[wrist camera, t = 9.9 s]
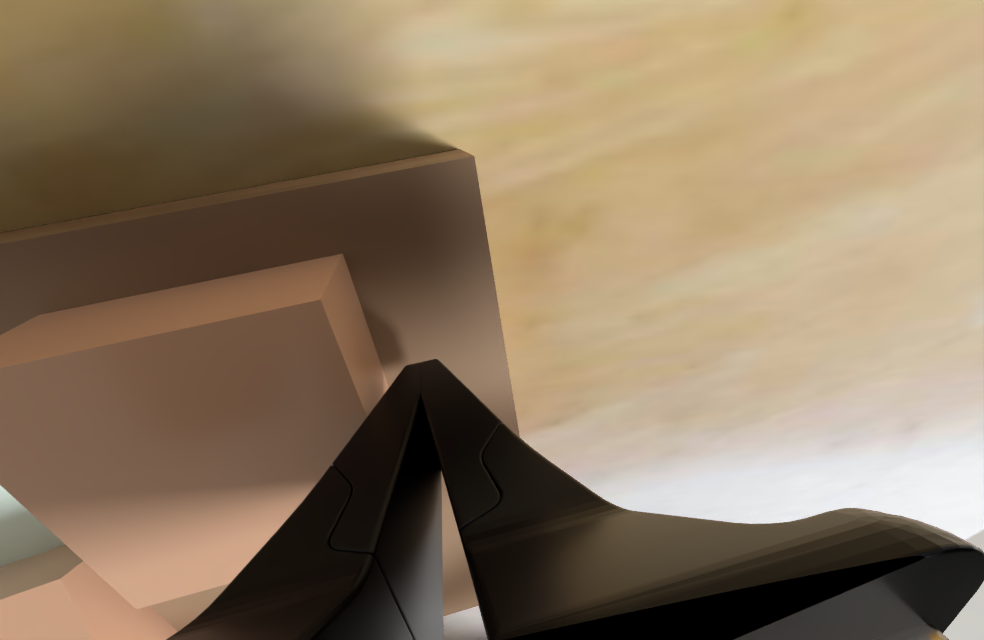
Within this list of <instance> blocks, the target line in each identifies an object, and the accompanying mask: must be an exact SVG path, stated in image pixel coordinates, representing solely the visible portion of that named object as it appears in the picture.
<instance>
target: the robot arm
mask: <svg viewBox="0 0 984 640" xmlns="http://www.w3.org/2000/svg"><path fill="white" fill-rule="evenodd" d="M441 471H442V474H443V478H444V482H445V485H446V489H447V492H448V496H449V499H450V503H451V506H452V510H453V514H454V517H455V521H456V524H457V528H458V531H459V535H460V538H461V542H462V546H463V549H464V553H465V556H466V560H467V564H468V567H469V571H470V575H471V579H472V582H473V586H474V590H475V593H476V597H477V601H478V605H479V608H480V612H481V616H482V620H483V623H484V627H485V631H486V634H487V638H488V640H949V639H948V638H947V637H946V636H945V635H943V632H944V631H945V630H946V629H947V627H948V626H949V625H950V624H951V622H952V621H953V620H954V619H955V617H956V616H957V615H958V614H959V612H960V611H961V610H962V609H963V608H964V606H965V605H966V603H968V601H969V600H970V599H971V598H972V596H973V595H974V594H975V593H976V592H977V590H978V589H979V587H980V586H981V584H982V582H983V581H984V552H983V551H982V550H981V549H980V548H978V547H976V546H974V545H972V544H970V543H968V542H967V541H965V540H963V539H961V538H959V537H957V536H955V535H953V534H951V533H949V532H947V531H944V530H942V529H939V528H937V527H934V526H931V525H929V524H926V523H923V522H920V521H917V520H913V519H910V518H906V517H903V516H897V515H891V514H886V513H882V512H878V511H872V510H866V509H859V508H844V509H838V510H834V511H829V512H825V513H822V514H818V515H815V516H812V517H808V518H805V519H800V520H796V521H791V522H783V523H773V524H744V523H731V522H723V521H714V520H706V519H697V518H688V517H680V516H671V515H663V514H654V513H646V512H637V511H631V510H627V509H623V508H621V507H618V506H616V505H614V504H612V503H610V502H608V501H606V500H604V499H603V498H601V497H600V496H598V495H597V494H595V493H594V492H592V491H591V490H589V489H588V488H587V487H585V486H584V485H582V484H581V483H580V482H578V481H577V480H575V479H574V478H573V477H571V476H570V475H568V474H567V473H566V472H564V471H563V470H561V469H560V468H558V467H557V466H556V465H554V464H553V463H551V462H550V461H549V460H547V459H546V458H545V457H543V456H542V455H541V454H539V453H538V452H537V451H535V450H534V449H533V448H531V447H530V446H529V445H528V444H526V443H525V442H524V441H523V440H522V439H521V438H520V437H519V436H517V435H516V434H515V433H514V432H513V431H512V430H511V429H510V428H509V427H508V426H507V425H506V424H504V423H503V421H502V420H500V419H499V418H498V417H497V416H496V415H495V414H494V413H493V412H492V411H491V410H490V409H489V408H488V407H487V406H486V405H485V404H484V403H483V402H482V401H481V400H480V399H479V398H478V397H477V396H476V395H475V394H474V393H473V392H472V391H470V390H469V389H468V388H467V387H466V386H465V385H464V384H463V383H462V382H461V381H460V380H459V379H458V378H457V377H456V376H455V375H454V374H453V373H452V372H451V371H450V370H449V369H448V368H447V367H446V366H445V365H444V364H443V363H442V362H441V361H439V360H438V359H432V360H427V361H423V362H418V363H414V364H409V365H406V366H405V367H404V368H403V370H402V371H401V372H400V374H399V375H398V376H397V378H396V379H395V380H394V382H393V383H392V384H391V386H390V387H389V388H388V390H387V391H386V392H385V394H384V395H383V396H382V398H381V399H380V400H379V402H378V403H377V404H376V406H375V407H374V408H373V409H372V411H371V412H370V413H369V415H368V416H367V417H366V419H365V420H364V421H363V423H362V424H361V425H360V427H359V428H358V429H357V431H356V432H355V433H354V435H353V436H352V437H351V439H350V440H349V441H348V443H347V444H346V445H345V447H344V448H343V449H342V451H341V452H340V453H339V455H338V456H337V457H336V459H335V460H334V461H333V463H332V465H331V466H330V467H329V468H328V469H327V471H326V472H325V473H324V475H323V476H322V477H321V479H320V480H319V481H318V482H317V484H316V485H315V486H314V487H313V489H312V490H311V491H310V493H309V494H308V495H307V496H306V498H305V499H304V500H303V501H302V503H301V504H300V505H299V506H298V507H297V508H296V510H295V511H294V512H293V513H292V514H291V515H290V517H289V518H288V519H287V520H286V521H285V522H284V523H283V525H282V526H281V527H280V528H279V529H278V530H277V531H276V533H275V534H274V535H273V536H272V537H271V538H270V539H269V540H268V541H267V543H266V544H265V545H264V546H263V547H262V548H261V549H260V550H259V552H258V553H257V554H256V555H255V556H254V557H253V558H252V559H251V560H250V562H249V563H248V564H247V565H246V566H245V567H244V568H243V569H242V570H241V572H240V573H239V574H238V575H237V576H236V577H235V578H234V579H233V580H232V582H231V583H230V584H229V585H228V586H227V587H226V588H225V589H224V591H223V592H222V593H221V594H220V595H219V596H218V597H217V598H216V599H215V600H214V601H213V602H212V603H211V604H210V605H209V606H208V607H207V608H206V609H205V610H204V611H203V612H202V613H201V614H200V615H199V616H198V617H196V618H195V619H194V620H193V621H191V622H190V623H189V624H188V625H186V626H185V627H184V628H182V629H181V630H179V631H178V632H176V633H175V634H173V635H172V636H170V637H169V638H167V639H166V640H443V560H442V479H441Z"/></svg>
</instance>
